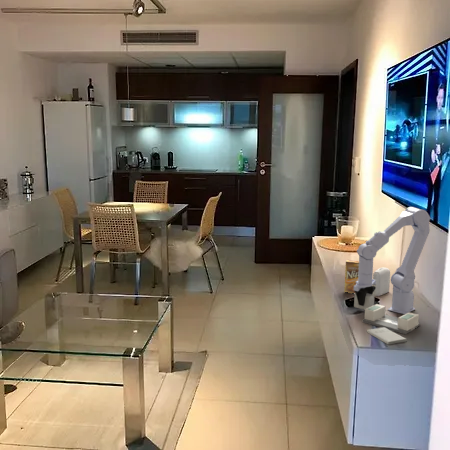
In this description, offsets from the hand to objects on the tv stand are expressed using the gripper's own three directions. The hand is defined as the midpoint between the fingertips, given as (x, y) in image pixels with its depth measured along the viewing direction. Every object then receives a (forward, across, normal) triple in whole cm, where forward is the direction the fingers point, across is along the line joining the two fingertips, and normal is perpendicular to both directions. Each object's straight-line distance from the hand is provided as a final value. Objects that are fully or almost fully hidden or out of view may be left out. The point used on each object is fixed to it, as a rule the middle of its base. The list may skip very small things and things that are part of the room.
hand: (364, 304), depth 214 cm
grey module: (+2, 0, 0) cm, 2 cm away
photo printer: (+4, -29, -8) cm, 30 cm away
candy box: (+4, -21, -17) cm, 27 cm away
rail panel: (+3, +5, +15) cm, 16 cm away
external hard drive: (+4, +18, +20) cm, 27 cm away
